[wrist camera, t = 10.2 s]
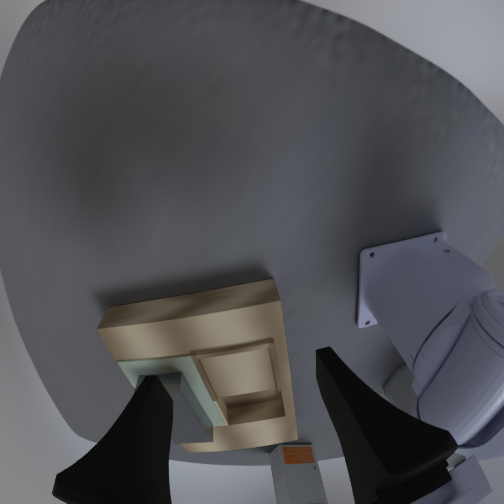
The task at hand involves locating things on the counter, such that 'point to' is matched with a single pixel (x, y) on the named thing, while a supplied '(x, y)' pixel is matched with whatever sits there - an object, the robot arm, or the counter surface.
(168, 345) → the bamboo board
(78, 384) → the counter surface
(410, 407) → the coffee maker
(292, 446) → the skincare box
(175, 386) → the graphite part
